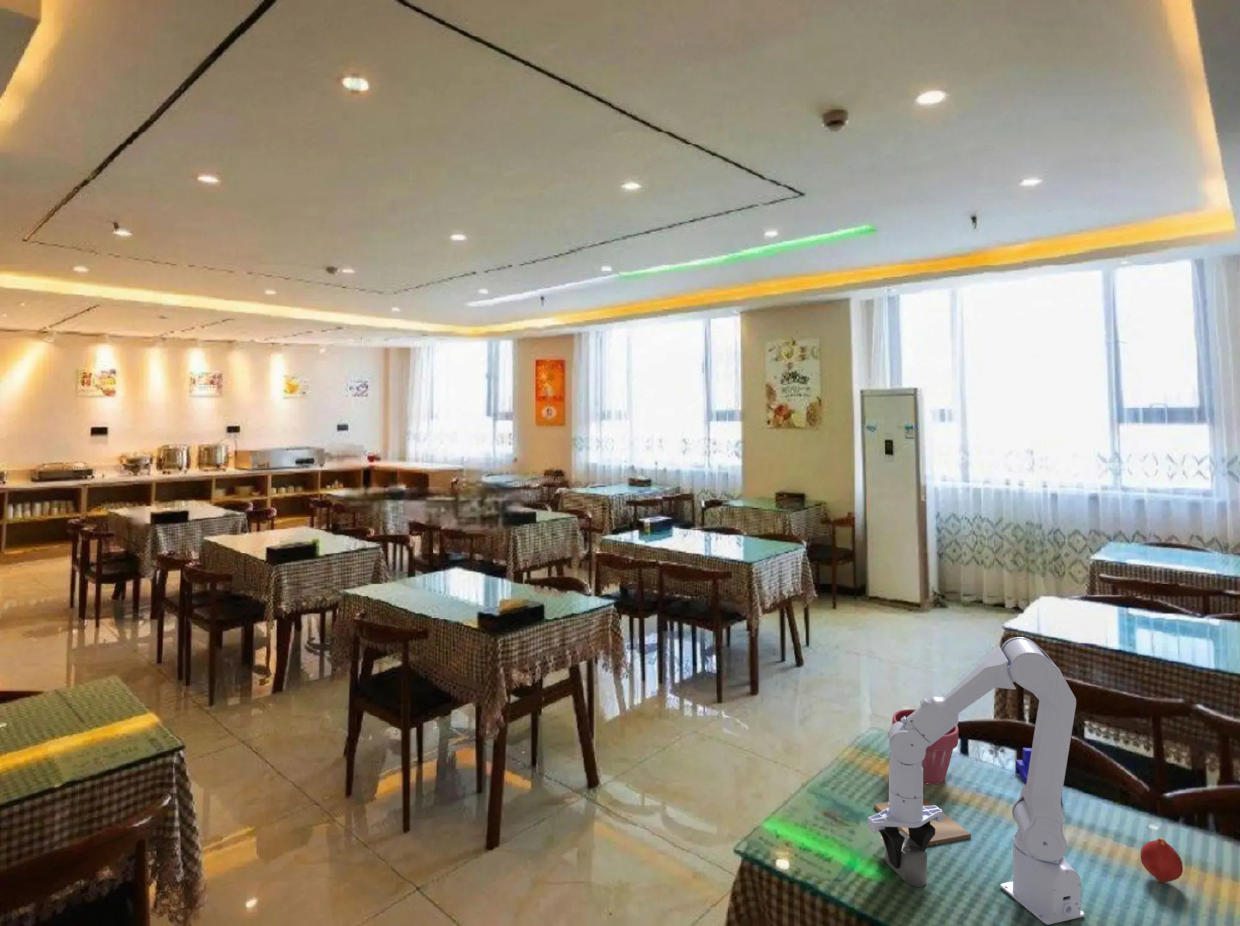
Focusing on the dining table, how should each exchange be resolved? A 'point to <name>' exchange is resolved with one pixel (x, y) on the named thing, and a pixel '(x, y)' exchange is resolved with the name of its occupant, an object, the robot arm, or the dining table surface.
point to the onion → (1161, 860)
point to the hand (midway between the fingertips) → (905, 862)
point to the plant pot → (934, 752)
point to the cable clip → (1024, 764)
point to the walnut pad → (936, 827)
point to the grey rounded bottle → (910, 862)
